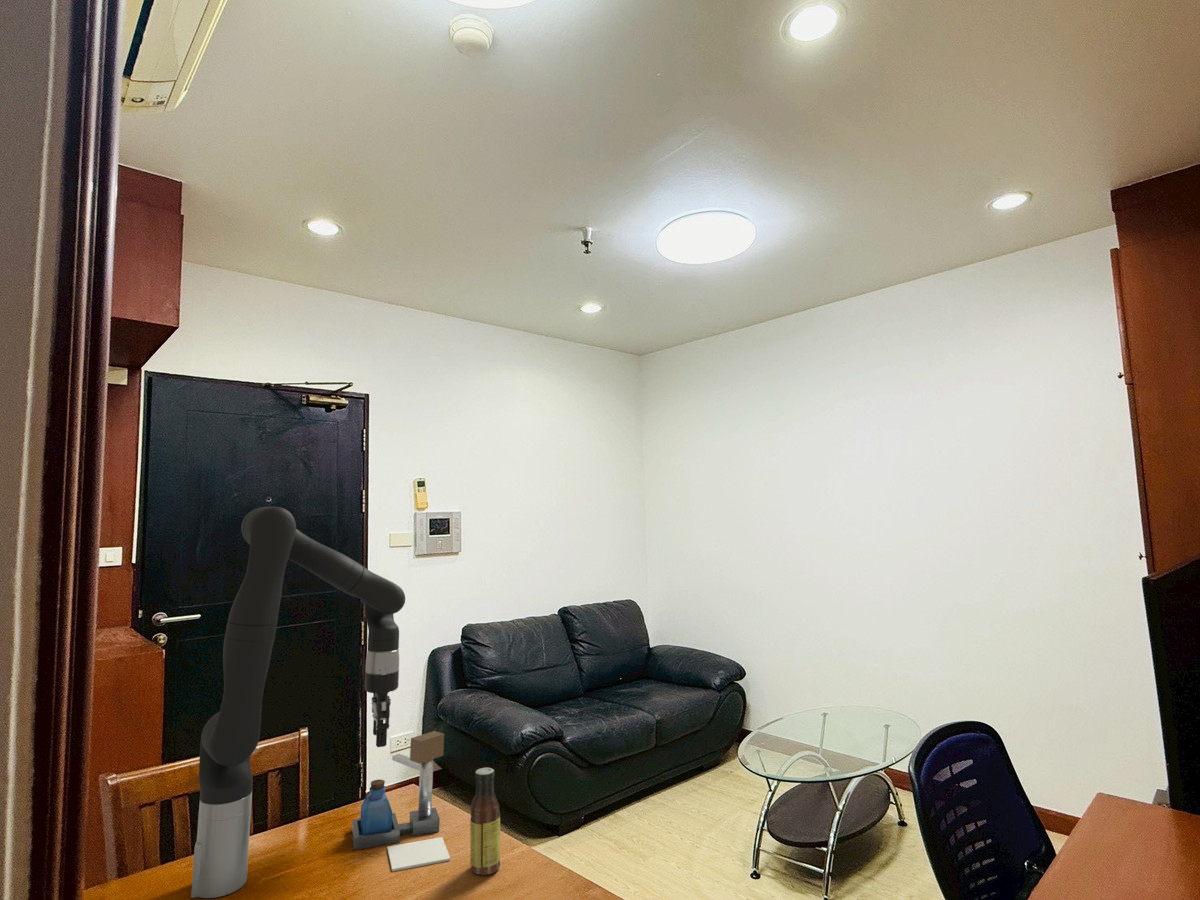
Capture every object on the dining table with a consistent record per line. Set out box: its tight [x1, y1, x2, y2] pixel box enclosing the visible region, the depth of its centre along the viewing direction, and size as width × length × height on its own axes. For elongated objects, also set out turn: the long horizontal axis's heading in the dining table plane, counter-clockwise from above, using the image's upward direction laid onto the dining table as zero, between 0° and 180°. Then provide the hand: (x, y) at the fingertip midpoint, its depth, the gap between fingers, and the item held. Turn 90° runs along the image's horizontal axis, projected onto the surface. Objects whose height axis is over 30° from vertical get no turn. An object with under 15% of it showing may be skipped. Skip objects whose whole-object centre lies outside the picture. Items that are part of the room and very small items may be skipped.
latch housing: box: [351, 807, 441, 851], centre depth 154 cm, size 19×10×3 cm, turn 113°
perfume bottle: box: [359, 779, 393, 835], centre depth 153 cm, size 6×6×12 cm
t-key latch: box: [391, 730, 445, 816], centre depth 161 cm, size 14×7×18 cm, turn 53°
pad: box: [387, 836, 451, 873], centre depth 144 cm, size 12×10×1 cm
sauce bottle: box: [469, 767, 502, 876], centre depth 140 cm, size 7×6×20 cm
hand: (379, 740), depth 154 cm, fingers open, 8 cm apart
